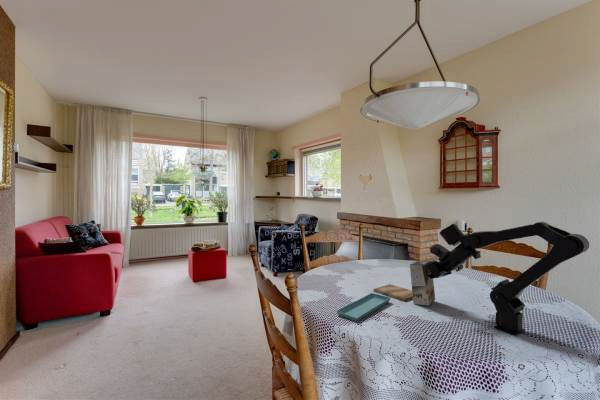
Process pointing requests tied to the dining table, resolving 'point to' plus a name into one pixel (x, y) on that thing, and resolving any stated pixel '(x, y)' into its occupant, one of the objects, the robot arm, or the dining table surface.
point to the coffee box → (421, 283)
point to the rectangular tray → (363, 306)
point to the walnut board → (395, 292)
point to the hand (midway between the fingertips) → (430, 277)
